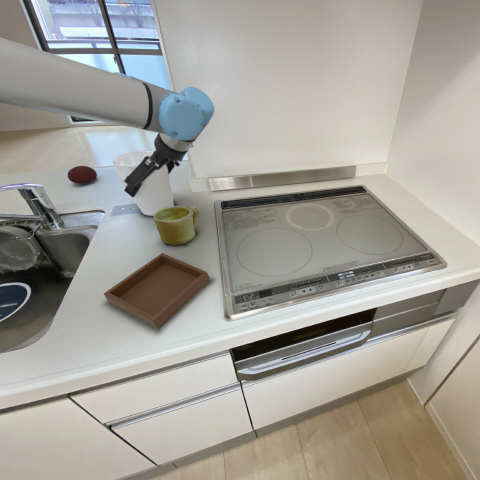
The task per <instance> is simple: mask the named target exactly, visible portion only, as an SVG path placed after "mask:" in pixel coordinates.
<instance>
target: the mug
mask: <svg viewBox="0 0 480 480" xmlns="http://www.w3.org/2000/svg"><path fill="white" fill-rule="evenodd" d="M200 214H201V213H200V209H199V208H198V206H197V205H194V204H192V205H191V204H190V205H189V206H187V207H185V206H179V205H174V206H171V207H166V208H163V209H160V210H158V211H157V212H156V213H155V214H154V216H153V220H154V224H155V226H156V228H157V231H158V233H159V236H160V240H161V241H162V243H164V244H166V245H170V246H180V245H186V244H187V243H189V242H190V241H191V240H193V239H194V238H195V237H196V236H195V235H196V232H195V228H196V223H197V221H198V219H199V215H200Z"/></svg>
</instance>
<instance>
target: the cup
mask: <svg viewBox="0 0 480 480" xmlns="http://www.w3.org/2000/svg"><path fill="white" fill-rule="evenodd" d="M154 151H155V150H149V149H144V150H143V149H142V150H134V151H133V150H132V151H129V152H124V153H123V154H122V153H121V154H119V155H117V156H115V157H114V158H113V159H112V164H113V166H114V168H115V171H116V174H117V177H118V178H119V180H120V182H121V183H122V185H123V186H124V189H125V188H126V186H127V185H128V184H127V183H125V182H124V180H125V179H126V177H127V176H129V175H130V174H131V173H132V172H133V171H134V170H135V168H136V167H137V166H138V165H139V164H140V163H141V162H142V161H143V159H144V158H145V157H146V156H148V157H150V156H152V155H153V152H154ZM155 163H156V162H155ZM155 165H156V166H157V167H158V166H159V165H158V164H157V163H156V164H155ZM141 184H142V185H141V187H140V188H139V190H138V192H137V193H136V195H135V196H134V197H133V198H132V200H133V201H134V202H135V204H136V206H137V207H138V208H139V210H140V211H141V214H143V215H145V216H151V217H154V214H155V213H156V212H157V211H158V210H160V209H163V208H166V207H171V206H175V204H174V198H173V192H172V187H171V179H170V174H168V169H167V166H166V165H164V166H163V167H162V168H161V169H159V170H155V171H154V172H153V173H152V174H151V175H150V176H149V177H148V178H146V179H145V180H144V181H143V182H142V183H141Z"/></svg>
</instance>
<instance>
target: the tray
mask: <svg viewBox="0 0 480 480" xmlns="http://www.w3.org/2000/svg"><path fill="white" fill-rule="evenodd" d="M210 282H211V279H210V276H209V273H208V271H205V270H203V269H201V268H198V267H196V266H193V265H192V264H189V263H187V262H184V261H182V260H180V259H177V258H175V257H173V256H170V255H168V254H166V253H163V252H161V253H160V254H158V255H157V256H155V257H154V258H153V259H151V260H150V261H148V262H147V263H145V264H144V265H142V266H140V268H138V269H137V270H135V271H134V272H132V273H131V274H129V275H128V276H127V277H125V278H124V279H123V280H121V281H119V282H118V283H117V284H115V285H113V286H112V287H111V288H110V289H107V290H106V291H105V292H104V293H103V296H104V297H105V299H106V300H107V302H108V303H109V304H111V305H113V306H114V307H116V308H118V309H120V310H121V311H123V312H125V313H127V314H129V315H130V316H132V317H135V318H136V319H138V320H139V321H142V322H143V323H145V324H147V325H149V326H151V327H153V328H155V329H156V330H160V329H161V328H162V327H163V326H164V325H165V324H166V323H167V322H168V321H169V320H170V319H171V318H173V316H174V315H176V314H177V313H178V312H179V311H180V310H181V309H182V308H183V307H185V305H187V303H189V302H190V301H191V300H192V299H193V298H194V297H195V296H196V295H197V294H198V293H199V292H201V290H203V288H205V287H206V286H208V284H209V283H210Z"/></svg>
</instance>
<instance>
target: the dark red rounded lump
mask: <svg viewBox="0 0 480 480" xmlns="http://www.w3.org/2000/svg"><path fill="white" fill-rule="evenodd" d="M97 177H98V173H97V171H96V170H95V169H94V168H92V167H90V166H88V165H77V166H74V167H72V168H70V169H69V170H68V172H67V179H68V180H69V181H70V182H71V183H74V184H78V185H85V184H90V183H92V182H94V181H96V179H97Z"/></svg>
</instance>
